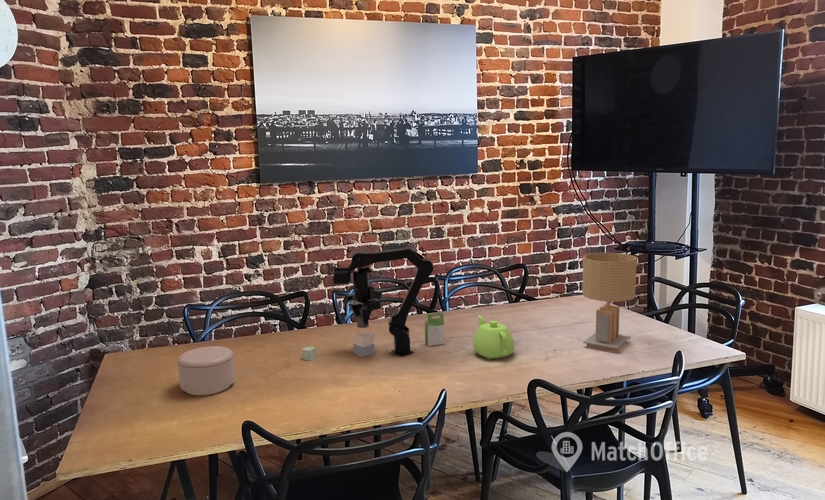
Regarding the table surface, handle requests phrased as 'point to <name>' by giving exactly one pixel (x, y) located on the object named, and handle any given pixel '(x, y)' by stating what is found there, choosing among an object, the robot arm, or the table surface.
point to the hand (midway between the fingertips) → (362, 323)
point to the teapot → (493, 340)
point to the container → (206, 370)
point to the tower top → (364, 339)
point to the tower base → (364, 350)
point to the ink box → (434, 330)
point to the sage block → (309, 353)
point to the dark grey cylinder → (361, 322)
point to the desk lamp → (608, 295)
